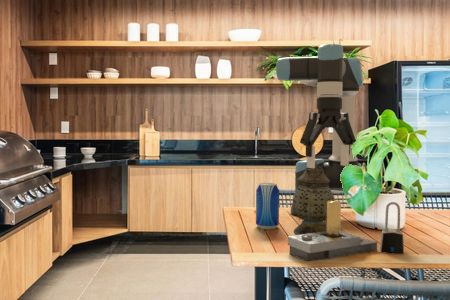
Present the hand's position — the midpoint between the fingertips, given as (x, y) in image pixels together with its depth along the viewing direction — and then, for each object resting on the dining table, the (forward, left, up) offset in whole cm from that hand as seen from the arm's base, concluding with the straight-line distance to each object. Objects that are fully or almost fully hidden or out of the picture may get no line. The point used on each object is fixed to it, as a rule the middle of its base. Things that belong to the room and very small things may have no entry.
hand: (328, 166), depth 140 cm
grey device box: (+2, +5, -25) cm, 25 cm away
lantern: (-8, -16, -25) cm, 31 cm away
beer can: (+1, -31, -25) cm, 40 cm away
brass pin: (+2, +5, -25) cm, 25 cm away
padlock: (-14, +13, -25) cm, 32 cm away
